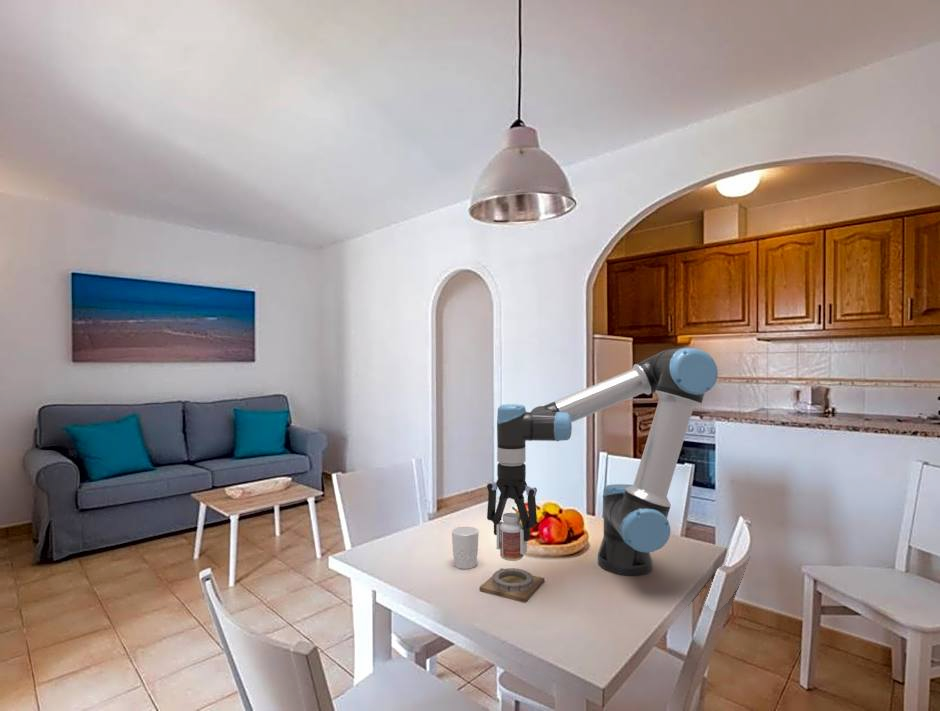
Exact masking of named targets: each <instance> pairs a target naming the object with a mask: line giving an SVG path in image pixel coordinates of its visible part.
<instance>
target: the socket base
mask: <svg viewBox="0 0 940 711" xmlns="http://www.w3.org/2000/svg"><path fill="white" fill-rule="evenodd" d="M545 581H546V580H545V577H542V576H537V575H534V574H532V573H530V572H529V571H527V570H524V569H521V568H517V567H516V568H514V567H513V568H511V567H510V568H509V567H508V568H499V569H498V570H496V571H494V573H493V574H492V576H490V577H489V578H488V579H487V580H486V581H485V582H484V583H482V584H481V585H480V586H479V587H478V588H479V592H482V593H486V594H490V595H493V596H498V597H502V598H506V599H509V600H513V601H517V602H520V603H527V602H528V601H529V600H530V599H531V597H532V596H533V595H534V594H535V593H536V592H537V591H538V589H540V587H542V586H543V585H544V583H545Z"/></svg>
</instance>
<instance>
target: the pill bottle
mask: <svg viewBox="0 0 940 711" xmlns="http://www.w3.org/2000/svg"><path fill="white" fill-rule="evenodd" d="M502 522H503V523H502V524H501V525H500V549H499V554H500V555H499V556H500V558H501V559H502V560H505V561H508V562H510V561H511V562H517V561H520V560H522V559H523V558H524V554H520V529H521V528H522V527H523V526H522V522H521V519H520V515H519V513H516V512H506V513H503V515H502Z"/></svg>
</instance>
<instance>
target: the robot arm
mask: <svg viewBox="0 0 940 711" xmlns="http://www.w3.org/2000/svg"><path fill="white" fill-rule="evenodd" d="M718 370H719V369H718V367H717V364H716V362H715V360H714V358H713V357H712V356H711V355H710V354H709V353H708V352H706V351H704V350H702V349H698V348H692V347H682V348H670V349H669V348H668V349H666V350H663V351H660V352H659V353H656V354H654V355H652V356H650V357H648V358H645V359H644V360H642V361H640V362H638V363H635V364H633V366H632V368H631V369H630V370H628V371H625V372H622V373H620V374H617V375H615V376H613V377H611V378H608V379H605V380H603V381H600V382H598V383H596V384H593V385H591V386H588V387H586V388H583V389H581V390H579V391H576V392H574V393H571V394H569V395H566V396H565V397H562V398H559V399H556V400H555V401H552V402H549V403H547V404H545V405H539V406H535V407H534V408H532V409H531V410H530V412H529V411H527V410H526V406H525V405H523V404H516V403H515V404H513V403H512V404H511V403H509V404H507V403H506V404H501V405H499V407H497V414H496V415H497V418H496V429H497V430H496V434H497V436H496V438H497V442H496V443H497V444H496V445H497V449H496V450H497V452H496V453H497V454H496V455H497V456H496V461H497V462H498V463H497V465H496V466H497V469H496V470H497V471H496V472H497V474H496V475H497V480H496V481H491V482H489V483H487V484H486V487H487V492H488V496H487V497H488V498H487V511H486V512H487V513H486V518H487V521H491V522H492V523H493V535H494V536H496V549H497V550H500V525H501V524H502V523H503V522H504V521H503V514H504V512H505V511H504V510H505V507H506V504H507V501H508V499H511V500H514V503H515V504H516V507H517V510H518V514H519V515H520V519H521V520H520V523H521V524H522V526H523V527H522V528H521V529H520V554H523V555H525V553H526V552H528V541H530V539H531V529H533V528H535V527H536V526H537V525H538V518H537V516H538V515H537V505H536V504H537V502H536V495H537V491H538V490H537V488H536V487H530V486H529V485H528V484H527V481H526V474H527V471H526V470H527V469H526V466H527V464H525V463H526V458H527V457H526V442H527V441H528V442H529V441H530V442H531V441H536V442H537V441H540V442H541V441H542V442H543V441H544V442H546V441H547V442H550V441H551V442H560V441H563V442H564V441H568V440H570V439H571V436H572V430H573V428H572V423H573V422H577V421H578V420H581V419H583V418H587V417H588V416H592V415H594V414H595V413H598V412H600V411H603V410H606V409H608V408H611V407H612V406H615V405H617V404H619V403H622V402H625V401H627V400H630V399H632V398H635V397H638V396H639V395H642V394H645V395H647V396H650V395H651V394H653V393H655V394H656V395H657V397H658V402H657V406H656V408H655V409H656V410H655V412H654V415H653V419H652V423H651V426H650V428H649V432H648V436H647V439H646V443H645V445H644V449H643V453H642V455H641V458H640V462H639V466H638V468H637V472H636V476H635V479H634V482H633V483H632V484H624V483H623V484H621V483H620V484H619V483H617V484H608V485H605V486H604V488H603V491H602V492H603V493H602V503H603V505H602V506H603V508H602V509H603V510H602V512H603V517H602V518H603V538H602V540H601V542H600V546H599V549H598V552H597V564H598V565H599V566H600V567H601V568H602V569H604V570H606V571H608V572H611V573H613V574H618V575H623V576H624V575H625V576H642V575H646V574H648V573H650V572H651V571H652V569H653V560H652V559H653V558H652V555H651V553H653V552H656V551H658V550H660V549H662V548H663V547H664V546H665V545H666V544H667V543H668V541H669V539H670V537H671V525H670V522H669V520H668V517H669V512H670V509H671V503H670V500H669V499H668V493H669V491H670V487H671V484H672V481H673V477H674V474H675V471H676V466H677V463H678V460H679V457H680V454H681V450H682V447H683V445H684V444H683V443H684V440H685V437H686V434H687V431H688V428H689V427H688V426H689V423H690V420H691V418H692V414H693V410H694V409H695V408H697V407H700V406H702V403H703V400H704V397H705V394H706V393H708V392H709V391H711V389H712V388H714V386H715V384H716V383H717V381H718V377H719V376H718V375H719V374H718V373H719V372H718ZM497 490H499V492H500V494H499V498H498V504H497V503H496V502H497ZM524 492H526V496H527V507H526V503H525V497H524ZM496 505H497V506H496Z"/></svg>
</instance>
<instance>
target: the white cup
mask: <svg viewBox="0 0 940 711" xmlns="http://www.w3.org/2000/svg"><path fill="white" fill-rule="evenodd" d="M451 540H452V542H451V543H452V554H453V565H454V566H455V567H456V568H457V569H462V570H469V569H473V568H475V567H476V566H477V564H478V553H479V552H478V550H479V549H478V548H479V529H478V528H477V527H475V526H470V525H461V526H457V527H454V528H452V529H451Z"/></svg>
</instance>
